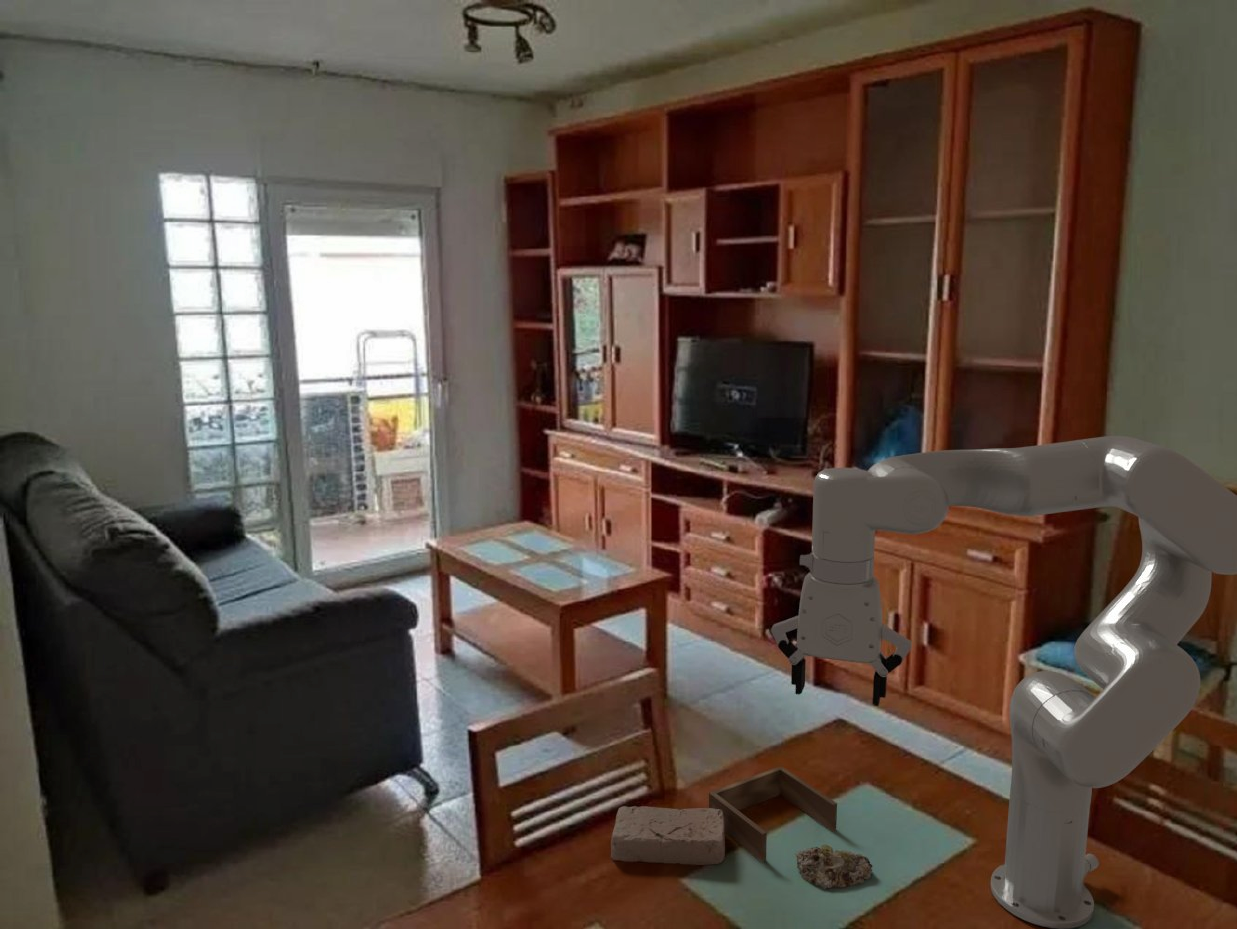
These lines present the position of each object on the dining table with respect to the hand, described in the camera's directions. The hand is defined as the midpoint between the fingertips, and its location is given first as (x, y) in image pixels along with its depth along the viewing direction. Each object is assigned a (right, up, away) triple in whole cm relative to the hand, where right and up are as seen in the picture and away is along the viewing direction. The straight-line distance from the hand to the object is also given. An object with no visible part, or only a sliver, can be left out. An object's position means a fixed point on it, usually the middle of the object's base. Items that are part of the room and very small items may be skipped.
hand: (837, 695), depth 115 cm
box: (-4, -26, +23) cm, 35 cm away
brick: (-21, -28, +19) cm, 39 cm away
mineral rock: (+2, -29, +12) cm, 31 cm away
